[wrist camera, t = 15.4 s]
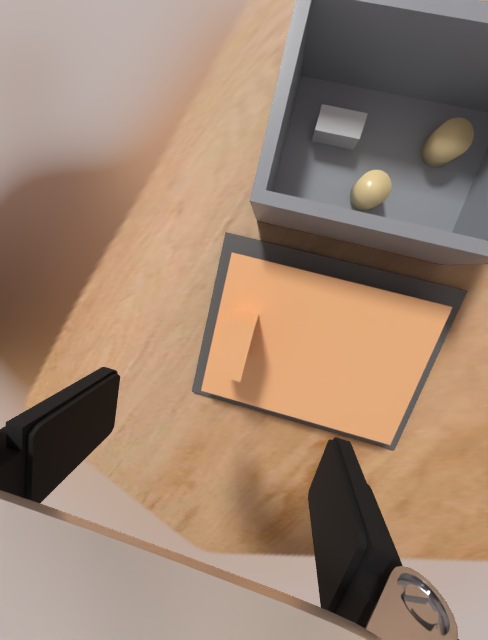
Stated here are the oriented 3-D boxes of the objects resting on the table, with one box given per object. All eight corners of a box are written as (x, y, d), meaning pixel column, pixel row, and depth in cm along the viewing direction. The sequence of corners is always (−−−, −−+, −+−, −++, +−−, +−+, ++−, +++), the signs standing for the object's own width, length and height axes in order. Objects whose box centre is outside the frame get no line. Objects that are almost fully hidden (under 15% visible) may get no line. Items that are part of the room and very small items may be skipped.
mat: (463, 290, 26) (467, 291, 25) (392, 447, 30) (394, 450, 30) (226, 233, 27) (225, 232, 27) (193, 389, 32) (191, 391, 31)
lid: (435, 303, 26) (512, 320, 17) (380, 430, 29) (422, 493, 21) (235, 253, 27) (218, 247, 19) (206, 380, 31) (182, 422, 23)
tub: (507, 111, 22) (634, 26, 14) (442, 264, 25) (517, 263, 18) (293, 69, 23) (302, -30, 16) (256, 220, 27) (249, 200, 19)
